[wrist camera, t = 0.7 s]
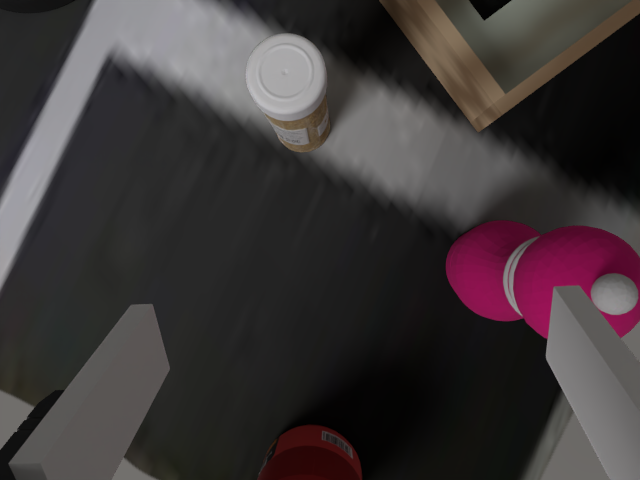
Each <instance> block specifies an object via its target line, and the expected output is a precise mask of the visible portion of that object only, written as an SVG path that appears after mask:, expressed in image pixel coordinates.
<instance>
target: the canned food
mask: <svg viewBox="0 0 640 480" xmlns="http://www.w3.org/2000/svg"><path fill="white" fill-rule="evenodd" d="M257 480H363V479H362V470H361V465H360V460H359V458H358V455H357V453H356V451H355V450H354V448H353V447H352V445H351V444H350V443H349V442H348V441H347V440H346V439H345V438H344V437H343V436H342V435H340V434H339V433H338V432H336V431H335V430H332V429H330V428H328V427H324V426H320V425H303V426H298V427H295V428H293V429H291V430H289V431H287V432H285V433H284V434H282V435H281V436H280V437H278V438H277V439H276V440H275V441H274V442H273V444H272V445H271V446H270V448H269V450H268V452H267V454H266V456H265V459H264V462H263V465H262V468H261V471H260V473H259V476H258V479H257Z"/></svg>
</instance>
